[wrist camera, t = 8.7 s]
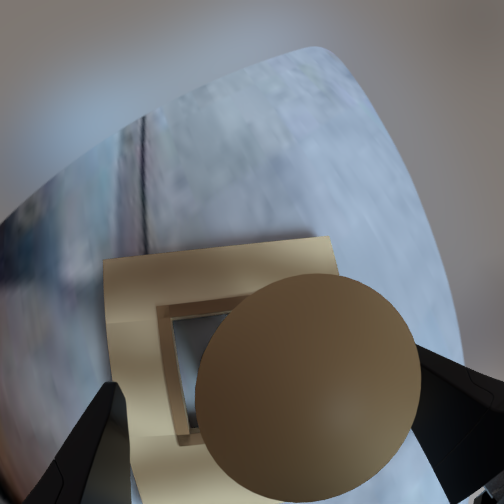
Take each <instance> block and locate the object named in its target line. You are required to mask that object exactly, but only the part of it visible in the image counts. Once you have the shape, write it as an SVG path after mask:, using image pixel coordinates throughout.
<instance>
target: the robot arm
mask: <svg viewBox="0 0 504 504" xmlns="http://www.w3.org/2000/svg"><path fill="white" fill-rule="evenodd" d="M415 345H416V348H417V351H418V356H419V361H420V369H421V391H420V398H419V404H418V408H417V412H416V415H415V418H414V421H413V424H412V426H411V429H412V431H413V433H414V434H415V436H416V438H417V440H418V442H419V444H420V446H421V447H422V449H423V451H424V453H425V455H426V457H427V459H428V461H429V463H430V464H431V466H432V468H433V470H434V472H435V474H436V476H437V478H438V480H439V482H440V484H441V486H442V488H443V490H444V492H445V494H446V496H447V498H448V500H449V502H450V504H458V503H459V502H461V501H463V500H464V499H466V498H467V497H469V496H470V495H471V494H473V493H474V492H476V491H477V490H479V489H480V488H481V487H484V488H485V490H484V491H483V492H482V493H481V494H480V495H479V496H477V497H476V498H475V499H474V504H504V382H503V381H500V380H497V379H494V378H492V377H489V376H486V375H483V374H481V373H479V372H476V371H474V370H472V369H470V368H467V367H465V366H463V365H461V364H458V363H456V362H454V361H452V360H450V359H447V358H445V357H443V356H441V355H439V354H436V353H434V352H432V351H430V350H428V349H425V348H423V347H421V346H419V345H417V344H415ZM22 504H131V482H130V439H129V429H128V418H127V406H126V399H125V396H124V394H123V392H122V390H121V388H120V386H119V384H118V383H117V382H115V381H114V382H105V383H104V384H103V385H102V387H101V388H100V390H99V391H98V392H97V394H96V395H95V397H94V398H93V400H92V401H91V403H90V404H89V406H88V407H87V409H86V410H85V412H84V413H83V415H82V416H81V418H80V419H79V421H78V422H77V424H76V425H75V427H74V428H73V430H72V431H71V433H70V434H69V436H68V437H67V439H66V440H65V442H64V444H63V445H62V447H61V448H60V450H59V451H58V453H57V455H56V456H55V460H53V461H52V462H51V464H50V466H49V467H48V469H47V470H46V472H45V473H44V475H43V476H42V478H41V479H40V480H39V482H38V483H37V485H36V486H35V487H34V489H33V490H32V491H31V492H30V494H29V495H28V496H27V497H26V499H25V500H24V501H23V502H22Z"/></svg>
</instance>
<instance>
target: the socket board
mask: <svg viewBox="0 0 504 504" xmlns="http://www.w3.org/2000/svg"><path fill="white" fill-rule="evenodd" d="M314 273H321V274H333V275H338V276H339V272H338V268H337V264H336V260H335V256H334V252H333V249H332V245H331V241H330V237H329V236H322V237H312V238H302V239H292V240H282V241H272V242H262V243H252V244H243V245H233V246H223V247H214V248H205V249H195V250H186V251H177V252H167V253H158V254H149V255H140V256H131V257H122V258H114V259H105V260H103V281H104V304H105V319H106V331H107V341H108V350H109V358H110V366H111V373H112V380H113V382H114V381H115V382H117V383H118V384H119V386H120V388H121V390H122V392H123V394H124V396H125V399H126V406H127V418H128V429H129V439H130V464H131V467H132V471H133V474H134V478H135V481H136V484H137V487H138V490H139V493H140V496H141V499H142V502H143V504H278V503H282V502H283V501H278V500H273V499H269V498H266V497H263V496H260V495H258V494H255V493H253V492H251V491H249V490H247V489H246V488H244V487H242V486H241V485H239V484H238V483H236V482H235V481H234V480H233V479H231V478H230V477H229V476H228V475H227V474H226V473H225V472H224V471H223V470H222V469H221V468H220V467H219V466H218V465H217V463H216V462H215V460H214V459H213V457H212V456H211V454H210V453H209V451H208V450H207V447H206V445H205V443H204V441H203V439H202V436H201V433H200V430H199V428H190V423H189V419H188V414H187V408H186V403H185V398H184V393H183V387H182V381H181V375H180V369H179V363H178V356H177V350H176V343H175V336H174V328H173V320H182V319H191V318H199V317H208V316H215V315H223V314H229V313H230V312H231V311H232V310H233V309H234V308H235V307H236V306H238V305H239V304H240V303H241V302H242V301H243V300H244V299H246V298H247V297H249V296H250V295H252V294H253V293H254V292H256V291H257V290H259V289H261V288H263V287H265V286H267V285H269V284H271V283H273V282H276V281H279V280H282V279H284V278H287V277H292V276H297V275H302V274H314Z"/></svg>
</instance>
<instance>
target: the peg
mask: <svg viewBox="0 0 504 504" xmlns="http://www.w3.org/2000/svg"><path fill="white" fill-rule="evenodd" d="M420 391H421V369H420V361H419V356H418V351H417V348H416V345H415V342H414V339H413V336H412V334H411V332H410V330H409V328H408V326H407V324H406V323H405V321H404V320H403V318H402V317H401V315H400V314H399V312H398V311H397V310H396V309H395V308H394V307H393V305H392V304H391V303H390V302H389V301H387V300H386V299H385V298H384V297H383V296H382V295H381V294H379V293H378V292H376V291H375V290H373V289H372V288H370V287H368V286H366V285H364V284H362V283H360V282H358V281H356V280H353V279H350V278H347V277H343V276H338V275H333V274H321V273H314V274H302V275H297V276H292V277H287V278H284V279H282V280H279V281H276V282H273V283H271V284H269V285H267V286H265V287H263V288H261V289H259V290H257V291H256V292H254V293H253V294H252V295H250V296H249V297H247V298H246V299H244V300H243V301H242V302H241V303H240V304H239V305H238V306H236V307H235V308H234V309H233V310H232V311H231V312H230V313H229V314H228V316H227V317H226V318H225V319H224V320H223V321H222V323H221V324H220V325H219V327H218V328H217V330H216V331H215V333H214V334H213V336H212V337H211V339H210V341H209V344H208V346H207V348H206V349H205V351H204V353H203V355H202V358H201V361H200V366H199V370H198V375H197V381H196V386H195V409H196V417H197V422H198V426H199V430H200V433H201V436H202V439H203V441H204V443H205V445H206V447H207V450H208V451H209V453H210V454H211V456H212V457H213V459H214V460H215V462H216V463H217V465H218V466H219V467H220V468H221V469H222V470H223V471H224V472H225V473H226V474H227V475H228V476H229V477H230V478H231V479H233V480H234V481H235V482H236V483H238V484H239V485H241V486H242V487H244V488H246V489H247V490H249V491H251V492H253V493H255V494H258V495H260V496H263V497H266V498H269V499H273V500H278V501H283V502H295V503H300V502H314V501H320V500H326V499H329V498H332V497H336V496H339V495H341V494H344V493H346V492H348V491H350V490H353V489H355V488H356V487H358V486H360V485H361V484H363V483H365V482H366V481H368V480H369V479H370V478H372V477H373V476H374V475H375V474H377V473H378V472H379V471H380V470H381V469H382V468H383V467H384V466H385V465H386V464H387V463H388V462H389V461H390V460H391V459H392V457H393V456H394V455H395V454H396V453H397V451H398V450H399V448H400V447H401V445H402V444H403V442H404V440H405V439H406V437H407V435H408V433H409V431H410V429H411V426H412V424H413V421H414V418H415V415H416V412H417V408H418V404H419V398H420Z"/></svg>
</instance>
